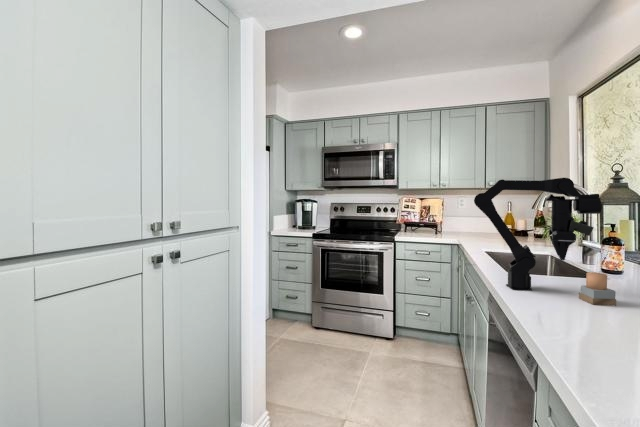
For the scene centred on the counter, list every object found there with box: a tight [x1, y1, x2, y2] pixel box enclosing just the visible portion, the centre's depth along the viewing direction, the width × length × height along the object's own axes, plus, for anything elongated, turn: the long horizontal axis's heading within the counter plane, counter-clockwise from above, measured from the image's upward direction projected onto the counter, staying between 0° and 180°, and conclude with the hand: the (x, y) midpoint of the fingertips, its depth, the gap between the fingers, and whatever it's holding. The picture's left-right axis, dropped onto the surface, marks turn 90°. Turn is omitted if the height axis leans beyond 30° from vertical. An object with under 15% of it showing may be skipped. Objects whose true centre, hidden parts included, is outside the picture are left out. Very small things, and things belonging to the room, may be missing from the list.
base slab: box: [578, 292, 617, 307], centre depth 102 cm, size 6×6×2 cm
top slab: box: [580, 285, 616, 299], centre depth 102 cm, size 6×6×2 cm
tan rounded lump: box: [585, 271, 608, 290], centre depth 102 cm, size 5×5×4 cm
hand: (560, 257), depth 113 cm, fingers open, 9 cm apart
